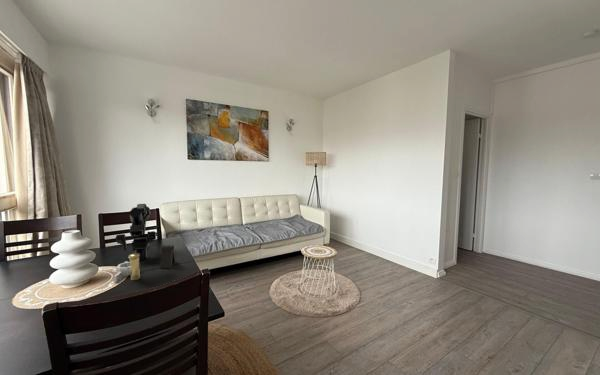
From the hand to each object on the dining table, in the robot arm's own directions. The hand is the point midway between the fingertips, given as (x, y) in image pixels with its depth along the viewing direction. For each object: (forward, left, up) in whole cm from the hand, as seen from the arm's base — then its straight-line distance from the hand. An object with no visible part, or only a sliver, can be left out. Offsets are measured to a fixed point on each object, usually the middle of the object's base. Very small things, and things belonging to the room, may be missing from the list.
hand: (135, 250), depth 136 cm
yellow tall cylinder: (+7, +1, -13) cm, 15 cm away
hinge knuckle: (-2, -5, -13) cm, 14 cm away
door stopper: (-6, +15, -13) cm, 21 cm away
